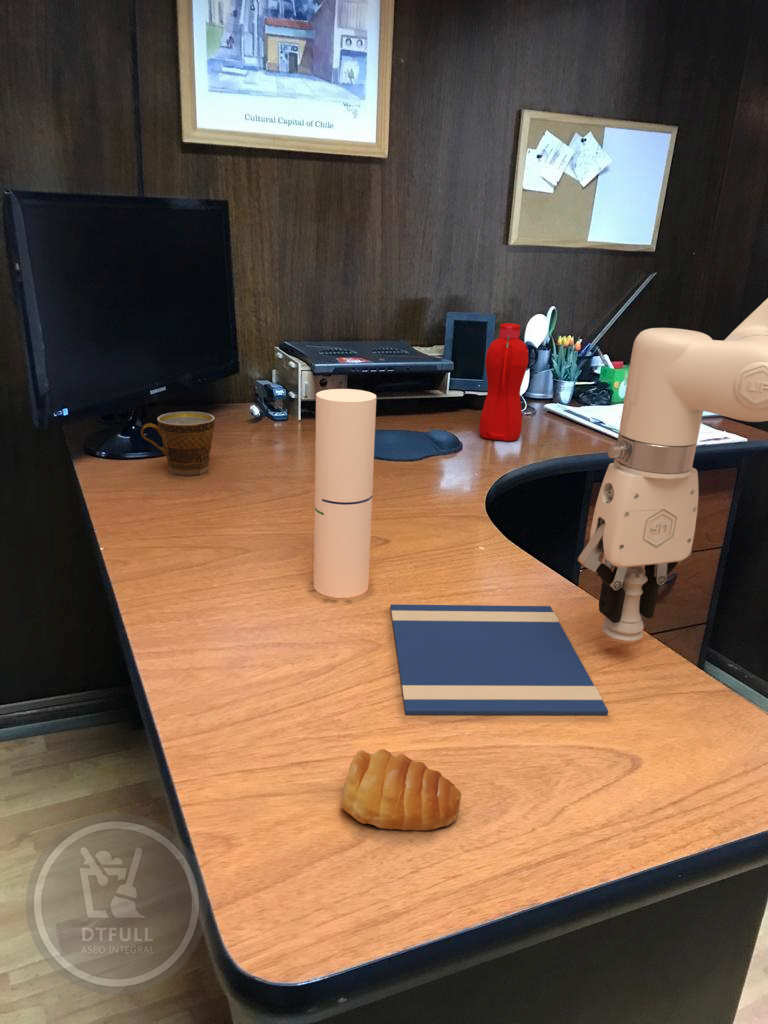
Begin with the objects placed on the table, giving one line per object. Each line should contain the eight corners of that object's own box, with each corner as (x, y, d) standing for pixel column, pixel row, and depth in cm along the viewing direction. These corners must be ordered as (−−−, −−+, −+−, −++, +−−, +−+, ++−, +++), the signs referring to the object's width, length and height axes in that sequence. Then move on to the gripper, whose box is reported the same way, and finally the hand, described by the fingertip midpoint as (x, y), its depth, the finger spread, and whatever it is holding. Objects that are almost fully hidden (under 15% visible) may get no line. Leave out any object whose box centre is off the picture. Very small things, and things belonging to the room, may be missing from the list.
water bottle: (475, 441, 170) (486, 325, 161) (481, 429, 180) (490, 319, 171) (518, 445, 168) (530, 328, 159) (521, 433, 178) (533, 322, 169)
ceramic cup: (209, 461, 148) (207, 409, 144) (222, 476, 140) (220, 422, 136) (139, 467, 143) (135, 414, 139) (148, 483, 134) (144, 427, 131)
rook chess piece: (646, 631, 87) (658, 566, 84) (638, 648, 83) (651, 581, 80) (606, 620, 88) (616, 556, 86) (596, 637, 85) (607, 571, 82)
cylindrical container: (349, 603, 96) (356, 404, 87) (302, 588, 99) (304, 395, 90) (378, 582, 102) (387, 394, 93) (333, 569, 105) (337, 386, 96)
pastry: (463, 789, 65) (467, 752, 64) (452, 849, 59) (456, 809, 57) (355, 769, 67) (357, 733, 65) (334, 825, 61) (335, 786, 59)
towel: (549, 609, 96) (550, 605, 96) (607, 715, 76) (608, 710, 76) (390, 607, 95) (390, 603, 95) (405, 715, 75) (405, 709, 74)
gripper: (605, 469, 72) (578, 641, 79) (746, 461, 77) (710, 622, 84) (563, 447, 79) (541, 607, 85) (696, 441, 84) (666, 592, 91)
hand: (625, 613), depth 85 cm, fingers closed on rook chess piece, 3 cm apart
